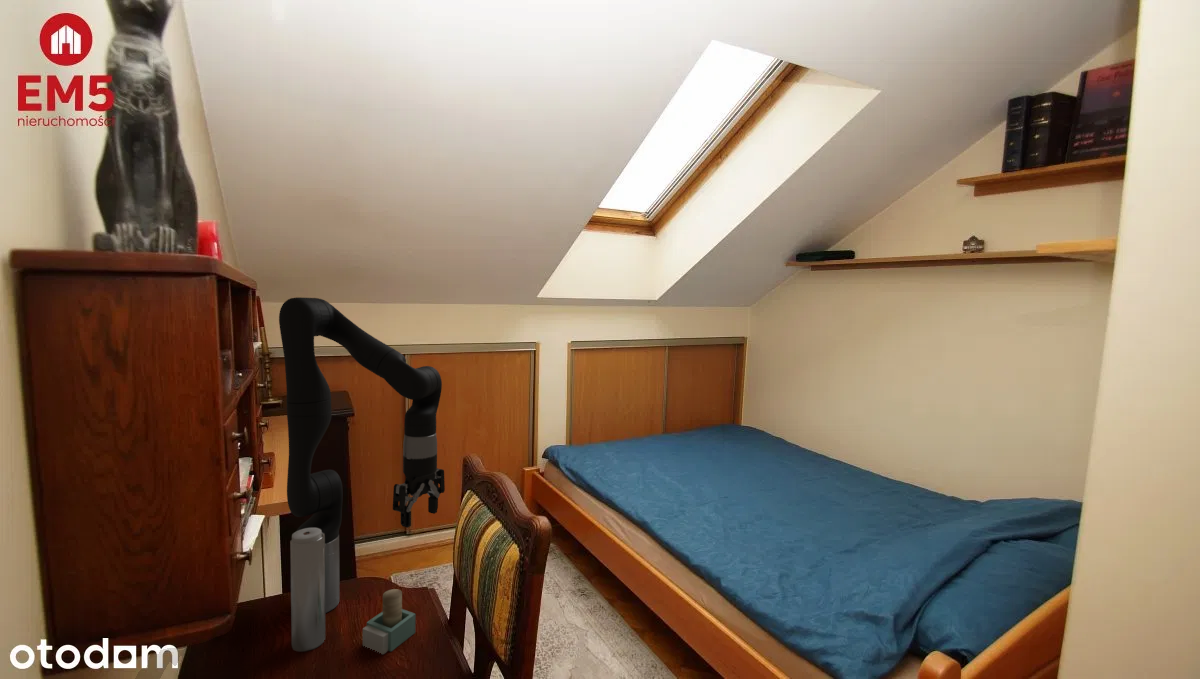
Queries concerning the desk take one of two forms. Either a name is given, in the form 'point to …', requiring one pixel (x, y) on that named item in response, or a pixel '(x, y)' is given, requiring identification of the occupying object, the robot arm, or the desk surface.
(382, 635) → the grey flat slab
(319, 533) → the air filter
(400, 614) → the dowel
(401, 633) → the grey-green open box
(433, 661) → the desk surface
